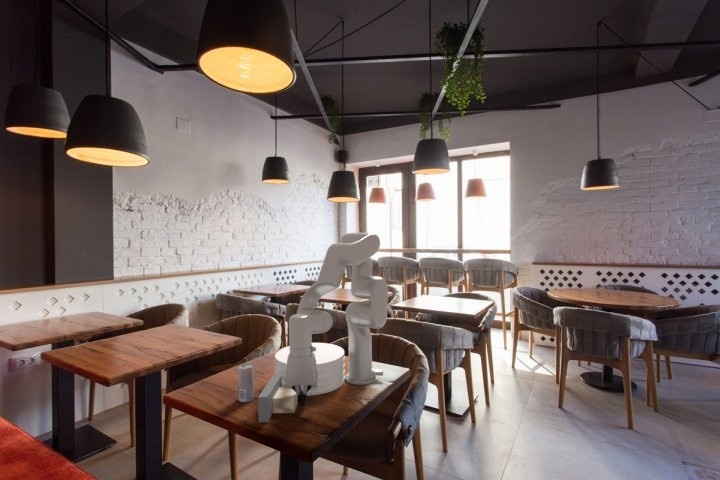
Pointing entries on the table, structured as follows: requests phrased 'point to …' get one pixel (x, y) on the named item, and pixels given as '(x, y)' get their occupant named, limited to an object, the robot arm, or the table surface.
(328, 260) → the robot arm
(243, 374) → the energy drink
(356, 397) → the table surface
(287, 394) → the cream block
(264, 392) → the gray board
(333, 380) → the plate stack
